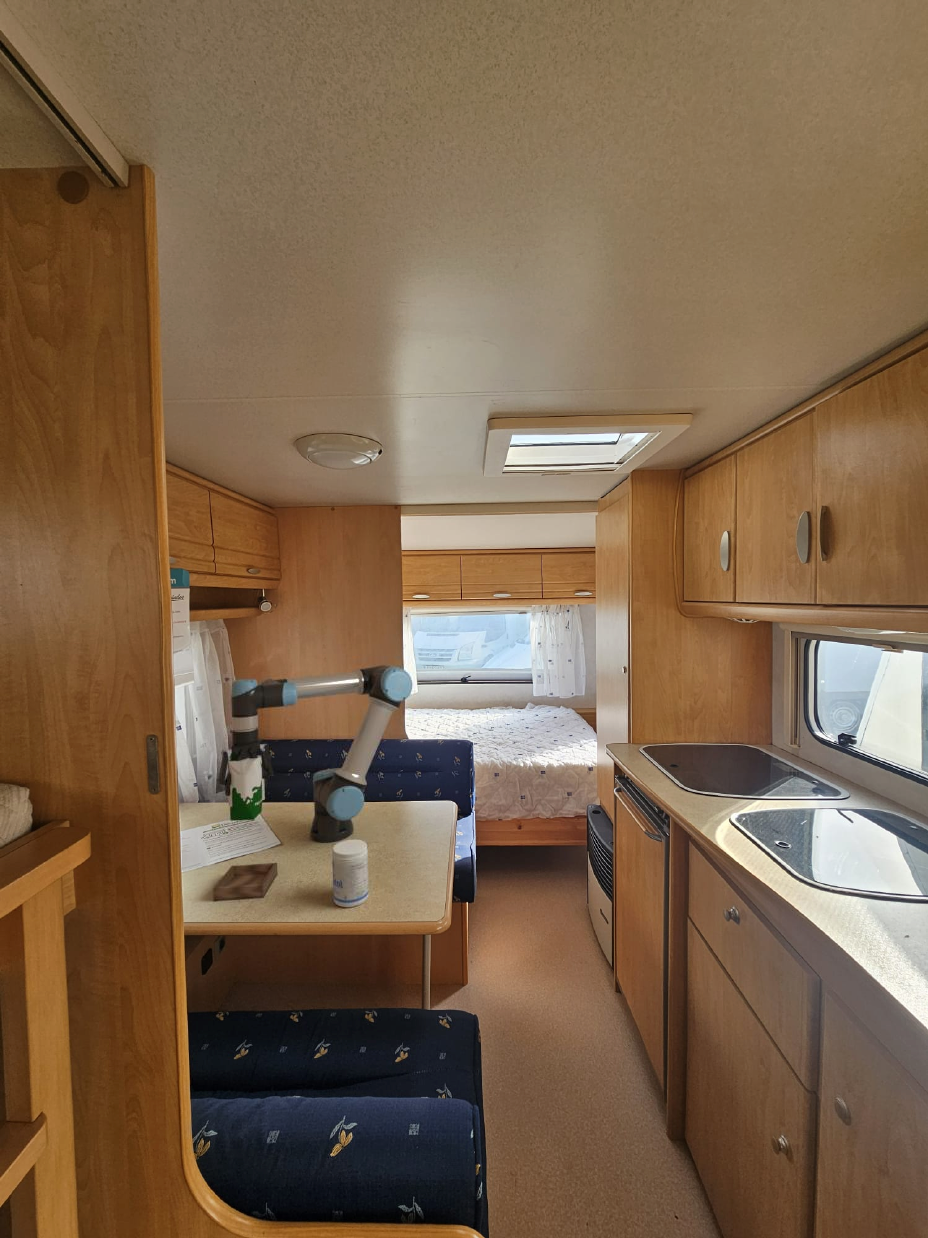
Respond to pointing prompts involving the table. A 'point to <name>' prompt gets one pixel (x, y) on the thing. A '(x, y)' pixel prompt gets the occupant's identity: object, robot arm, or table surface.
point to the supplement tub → (350, 873)
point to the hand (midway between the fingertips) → (246, 802)
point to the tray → (245, 882)
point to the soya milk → (245, 788)
